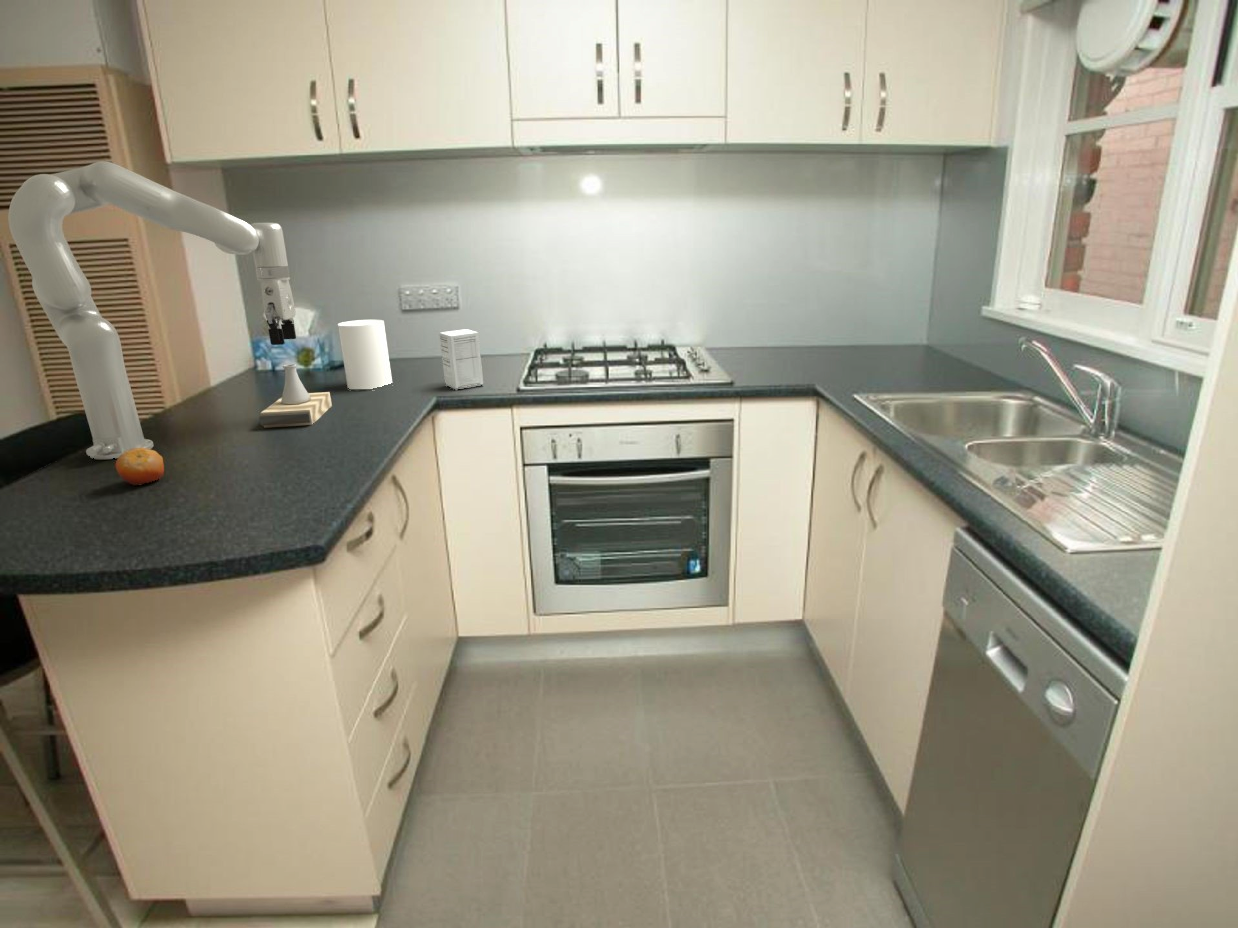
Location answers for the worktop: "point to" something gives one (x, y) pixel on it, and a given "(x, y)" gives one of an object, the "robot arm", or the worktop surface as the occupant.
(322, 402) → the zigzag patterned box
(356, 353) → the canister
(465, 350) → the supplement box
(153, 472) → the fruit
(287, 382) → the flask
